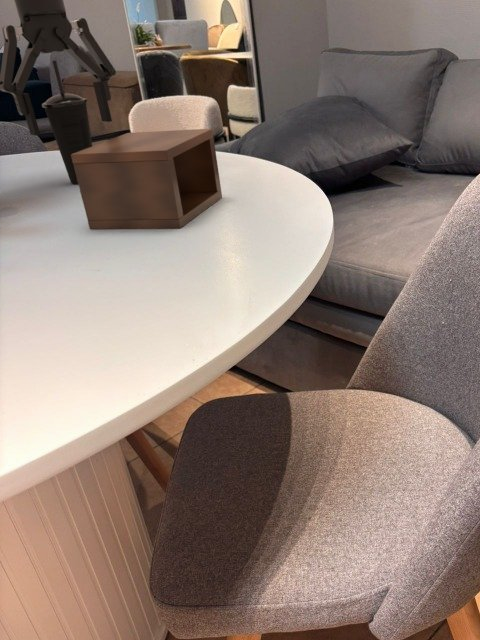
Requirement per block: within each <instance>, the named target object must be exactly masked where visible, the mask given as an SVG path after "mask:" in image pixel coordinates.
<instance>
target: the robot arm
mask: <svg viewBox="0 0 480 640" xmlns="http://www.w3.org/2000/svg"><path fill="white" fill-rule="evenodd" d="M13 1H14V4H15V7H16V11H17V15H18V18H19V21H20V26H13V25H11V24H9V25H8V24H7V25H3V27H2V29H1V30H2V35H3V40H4V42H3V44H4V45H3V51H2V59H1V64H0V65H1V68H0V91H1V92H4V93H9V94H11V95H12V97H13V99H14V102H15V106H16V109H17V113H18V114H19V115H20V116H24V117H25V121H26V124H27V128H28V131H29V134H30V136H36V137H37V136H41V132H40V129H39V125H38V121H37V118H36V114H35V111H34V108H33V104H32V100H31V97H30V93H27V92H26V93H25V92H24V90H25V88H26V85H27V83H28V81H29V78H30V76H31V74H32V71H33V69H34V66H35V64H36V62H37V60H38V58H39V56H40V54H50V53H60V52H65V53H66V54H69V55H70V56H71V57H72V58H73V59H74V60H75V61H77V63H79V64H80V66H82V67H83V68H84V69H85V70H86V71H87V72H88V73H89V74H90V75H91V76H92V77H93V78H94V79H95V80H96V81H93V82H92V85H93V89H94V93H95V98H96V102H97V106H98V110H99V111H98V112H99V114H100V119H101V122H105V123H110V122H112V121H113V119H112V114H111V110H110V105H109V101H111V99H112V95H111V91H110V87H109V81H110V78H112V77H113V76H115V75H116V74H117V71H116V69H115V67H114V66H113V64H112V63H111V61H110V60H109V59H108V56H107V55H106V54H105V53H104V50H103V49H102V48H101V46H100V45H99V43H98V42H97V40H96V39H95V37H94V36H93V34H92V32H91V31H90V27H89V24H88V21H87V19H86V18H85V17H80V18H75V19H74V20H71V21H70V20H69V19H68V16H67V11H66V10H67V9H66V7H65V2H64V0H13ZM72 31H73V32H74V33H75V34H76V35H78V37H79V38H80V40H81V42H82V43H83V45H84V46H85V47H86V49H87V50H88V52H89V53H90V55H91V56H92V58H93V59H94V61H95V62H96V63H95V62H94V61H93V60H92V59H91V58H90V57H89V56H88V54H86V53H85V52H84V51H83V50H82V49H81V48H80V47H79V45H78V44H77V43H76V42H75V41H74V40H73V39H72V38H71V34H72ZM21 36H22V37H23V38H24V39H25V40H26V41H27V42H28V43H27V45H26V48H25V51H24V55H23V57H22V59H21V63H20V65H19V67H18V69H17V72H16V75H15V78H14V80H13V77H14V69H15V65H16V57H17V48H18V42H19V41H20V40H21Z"/></svg>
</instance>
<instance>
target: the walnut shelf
mask: <svg viewBox="0 0 480 640" xmlns="http://www.w3.org/2000/svg"><path fill="white" fill-rule="evenodd" d="M71 157H72V161H73V165H74V169H75V173H76V177H77V181H78V184H77V185H78V188H79V193H80V196H81V201H82V204H83V207H84V212H85V215H86V219H87V223H88V224H87V225H88V227H89V229H90V230H116V229H117V230H119V229H120V230H123V229H128V230H129V229H134V230H135V229H141V230H142V229H181V228H183V227H184V226H186V225H187V224H188V223H190V222H191V221H192V220H193V218H194V219H195V218H197V217H198V216H199V215H201V214H202V213H203V212H204V211H206V210H207V209H208V208H210V207H212V205H214V204H215V203H217V202H218V201H219V200H220V199H222V198H223V193H222V186H221V180H220V179H221V178H220V172H219V165H218V159H217V150H216V145H215V137H214V132H213V128H196V129H195V128H194V129H176V130H157V131H138V132H137V131H136V132H127V133H124V134H121V135H119V136H116V137H113V138H111V139H108V140H105V141H103V142H100V143H97V144H95V145H92V147H89V148H87V149H84V150H81V151H79V152H76V153H73V154H71ZM190 220H191V221H190ZM189 221H190V222H189ZM182 226H183V227H182Z"/></svg>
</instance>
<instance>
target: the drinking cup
mask: <svg viewBox="0 0 480 640" xmlns="http://www.w3.org/2000/svg"><path fill="white" fill-rule="evenodd" d="M51 62H52V66H53V70H54V74H55V78H56V82H57V86H58V90H59V93H58V94H55V95H53V96H51V97H49V98H48V99H46V101H45V102H43V103H41V107H42V108H44V110H45V113H46V116H47V119H48V122H49V125H50V127H51V131H52V133H53V137H54V139H55V141H56V144H57V148H58V151H59V153H60V155H61V158H62V162H63V164H64V167H65V170H66V173H67V176H68V178H69V181H70V184H71V185H79V184H78V181H77V177H76V173H75V169H74V165H73V161H72V157H71V154H73V153H76V152H79V151H81V150H84V149H87V148H89V147H92V146H93V140H92V134H91V127H90V119H89V115H88V107H87V103H88V99H87V98H85V97H82V96H80V95H78V94H74V93H69V92H68V93H66V92H65V90H64V86H63V82H62V79H61V78H62V77H61V74H60V70H59V65H58V62H57V60H52V61H51Z"/></svg>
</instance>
